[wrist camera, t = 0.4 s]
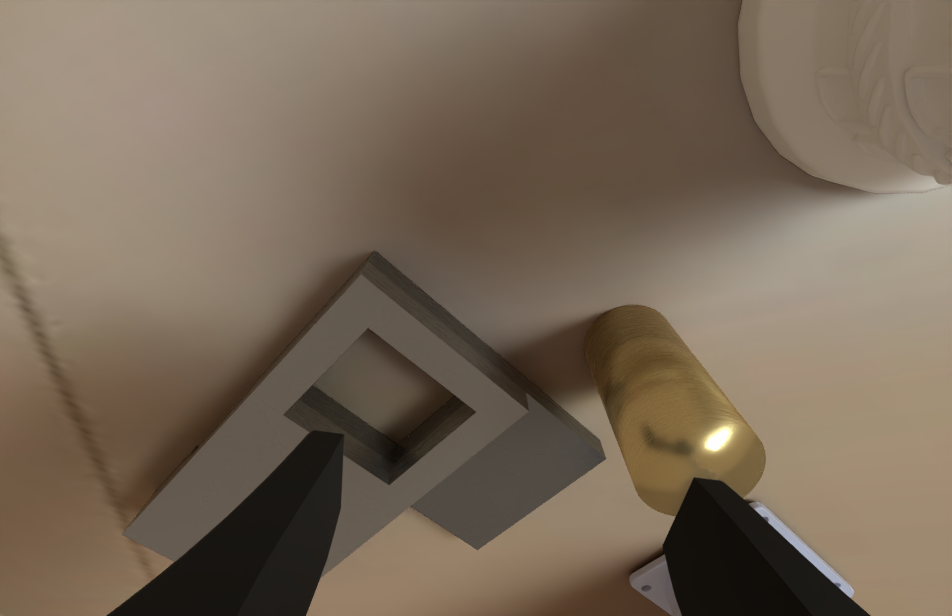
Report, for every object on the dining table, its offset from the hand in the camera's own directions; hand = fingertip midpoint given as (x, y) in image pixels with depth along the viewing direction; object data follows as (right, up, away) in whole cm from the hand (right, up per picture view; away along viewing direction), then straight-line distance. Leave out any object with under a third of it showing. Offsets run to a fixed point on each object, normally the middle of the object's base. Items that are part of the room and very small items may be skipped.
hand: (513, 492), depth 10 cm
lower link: (-3, -1, +11) cm, 12 cm away
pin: (+5, +2, +10) cm, 11 cm away
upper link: (-8, -2, +12) cm, 14 cm away
